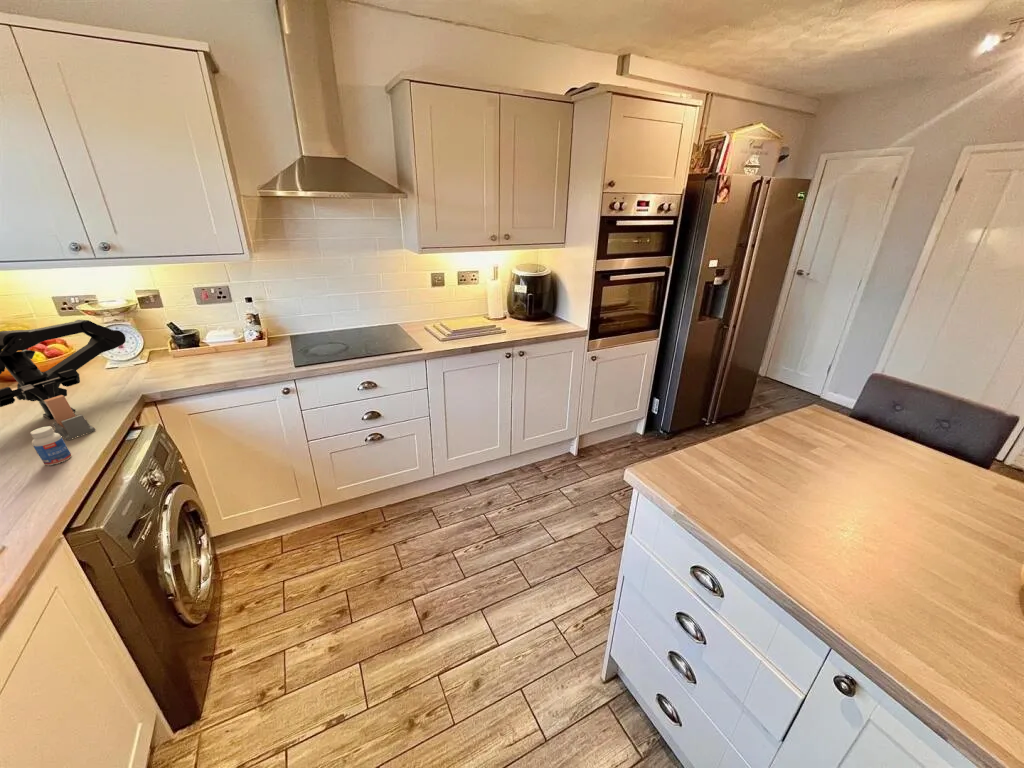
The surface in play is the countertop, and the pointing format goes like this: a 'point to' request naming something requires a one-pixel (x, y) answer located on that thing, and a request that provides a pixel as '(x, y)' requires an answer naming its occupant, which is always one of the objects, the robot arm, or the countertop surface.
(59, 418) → the orange tall block
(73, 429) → the switch base
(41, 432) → the pill bottle
